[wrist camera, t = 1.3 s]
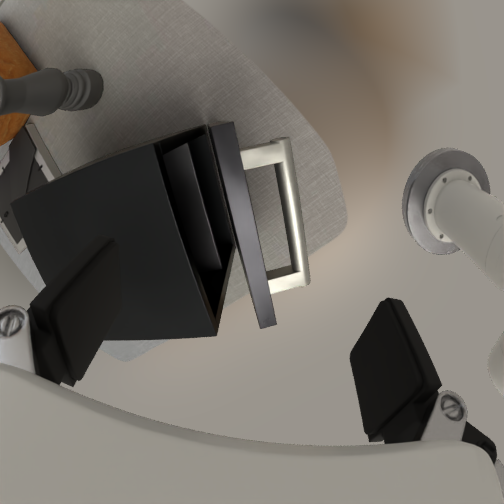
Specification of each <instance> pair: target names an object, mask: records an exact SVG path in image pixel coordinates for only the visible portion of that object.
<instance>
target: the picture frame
mask: <svg viewBox="0 0 504 504" xmlns="http://www.w3.org/2000/svg"><path fill="white" fill-rule="evenodd" d="M61 175H62V174H61V172H60V171H59V169H58V167H57V166H56V164H55V162H54V160H53V159H52V157H51V155H50V153H49V152H48V150H47V148H46V146H45V144H44V143H43V141H42V139H41V137H40V135H39V133H38V131H37V129H36V128H35V126H34V124H29V125H25V127H24V126H22V128H21V129H20V130H19V132H18V133H17V135H16V136H15V138H14V139H13V141H12V142H11V144H10V145H9V150H8V152H7V153H6V155H5V156H4V158H3V159H2V161H1V163H0V225H1V227H2V228H3V230H4V232H5V233H6V235H7V237H8V238H9V240H10V241H11V243H12V244H13V246H14V248H15V249H16V251H17V252H18V254H20V253H21V252H23V251H24V250H25V249H26V248H27V246H26V244H25V241H24V239H23V237H22V234H21V232H20V229H19V227H18V225H17V222H16V219H15V217H14V214H13V212H12V209H11V206H10V203H11V202H13V201H14V200H16V199H18V198H20V197H21V196H23V195H25V194H27V193H28V192H30V191H32V190H34V189H36V188H38V187H40V186H41V185H43V184H45V183H47V182H49V181H51V180H53V179H55V178H57V177H59V176H61Z"/></svg>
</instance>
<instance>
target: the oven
mask: <svg viewBox="0 0 504 504" xmlns="http://www.w3.org/2000/svg"><path fill="white" fill-rule="evenodd" d="M10 206H11V209H12V212H13V214H14V217H15V219H16V222H17V225H18V227H19V229H20V232H21V234H22V237H23V239H24V241H25V244H26V246H27V248H28V250H29V252H30V255H31V257H32V259H33V261H34V263H35V265H36V267H37V269H38V271H39V273H40V275H41V277H42V279H43V281H44V283H45V285H47V284H48V283H49V282H50V281H51V280H52V279H53V278H54V277H55V276H56V275H57V274H58V273H59V272H60V271H61V270H62V269H63V268H64V267H65V266H66V265H67V264H68V263H69V262H70V261H71V260H72V259H73V258H74V257H75V256H76V255H77V254H78V253H79V252H80V251H81V250H82V249H83V248H84V247H85V246H87V245H88V244H89V243H90V242H91V241H92V240H93V239H94V238H95V237H96V236H98V235H104V236H108V237H112V238H114V239H115V243H118V245H119V260H120V282H121V297H122V308H121V311H120V313H119V315H118V317H117V318H116V320H115V322H114V323H113V325H112V327H111V328H110V330H109V332H108V333H107V335H106V337H105V338H104V340H160V339H182V338H197V337H212V336H217V332H218V328H219V323H220V319H221V314H222V309H223V304H224V300H225V295H226V290H227V286H228V281H229V276H230V272H231V267H232V263H233V258H234V253H235V249H236V246H235V242H234V238H233V235H232V231H231V227H230V223H229V219H228V215H227V211H226V207H225V203H224V199H223V195H222V191H221V187H220V183H219V179H218V175H217V170H216V166H215V162H214V158H213V154H212V150H211V146H210V142H209V137H208V133H207V129H206V125H202V126H198V127H194V128H190V129H187V130H183V131H179V132H176V133H172V134H169V135H166V136H162V137H159V138H156V139H153V140H150V141H146V142H143V143H140V144H137V145H134V146H132V147H129V148H126V149H123V150H120V151H118V152H115V153H112V154H109V155H107V156H104V157H102V158H99V159H97V160H94V161H92V162H89V163H87V164H85V165H83V166H80V167H78V168H76V169H74V170H72V171H70V172H67V173H65V174H63V175H61V176H59V177H57V178H55V179H53V180H51V181H49V182H47V183H45V184H43V185H41V186H40V187H38V188H36V189H34V190H32V191H30V192H28V193H27V194H25V195H23V196H21V197H20V198H18V199H16V200H14V201H13V202H11V203H10Z"/></svg>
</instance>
